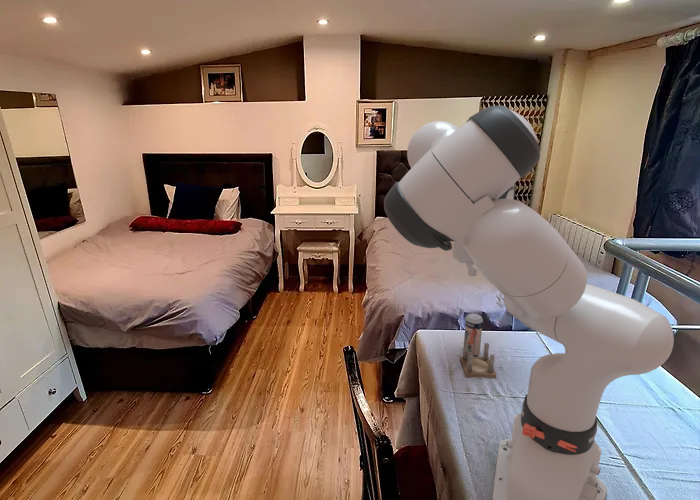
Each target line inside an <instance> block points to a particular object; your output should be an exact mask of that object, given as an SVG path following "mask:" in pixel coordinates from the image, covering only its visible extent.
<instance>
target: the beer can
mask: <svg viewBox="0 0 700 500" xmlns="http://www.w3.org/2000/svg"><path fill="white" fill-rule="evenodd" d="M483 322H484V319H483V317H482V316H481V315H480V314H479V313H476V312H475V313H474V312H472V313H468V314H467V315H466V316H465V326H464V337H463V338H464V339H463V344H464V343H468V344H469V345H468V355H469V354H472V355H473V357H477V356H478V355H480V353H481V344H482V343H481V342H482V335H483V334H482V332H483ZM462 351H464V348H463V349H462Z"/></svg>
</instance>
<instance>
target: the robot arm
mask: <svg viewBox="0 0 700 500" xmlns="http://www.w3.org/2000/svg"><path fill="white" fill-rule="evenodd" d="M406 152H407V153H406V157H407V161H408V164H409V166H410V169H409V170H408V171H407V172H406V174H405V175H404V176H403V177H402V178H401V179H400V180H399V181H395V182H394V184H393V185H392V186H391V188H390V189H389V190H388V192H387V193H386V195H385V197H384V199H383V207H384V212H385V215H386V217H387V219H388V222H389V224H390V225H391V226H392V228H393V229H394V231H395V232H396V233H397V234H398V235H399V236H401V237H402V238H403V239H405V240H406V241H408V242H409V243H410V244H412V245H414V246H417V247H421V248H426V249H436V248H437V249H442V250H443V251H445V252H448V251H451V250H452V257H453V259H454V260H455V261H457V262H459V263H461V264H462V263H464V264H465V266H466V267H467V270H468V271H467V274H468V276H469V277H475V276H477V272H478V270H479V271H480V273H481V274H482V275H483V276H484V277H485V279H486V280H487V281H488V282H489V283H491V285H492V286H493V287H495V289H496V290H498V292H500V293H501V294H502V295H503V302H504V303H503V304H504V307H505V309H506V311H507V312H508V313H510V315H512V317H514V318H515V319H517V320H518V321H519V322H521V323H522V324H523V325H524V326H526V327H527V328H529V329H531V330H534V331H535V332H537V333H538V334H541V335H543V336H545V337H548V338H550V339H551V340H553V341H554V342H557V343H559V344H561V345H563V347H564V353H563V352H559V353H556V352H555V353H549V354H545V355H543V356H540V357H539V358H538V359H537V360H535V362H534V363H533V365H532V367H531V369H530V375H529V379H528V388H527V393H526V394H525V396H524V400H523V402H522V404H521V405H522V407H521V413H518V414H516V415H514V417H513V425H512V433H511V439H501V440H500V441H499V444H498V448H497V454H496V455H497V456H496V457H497V458H496V465H495V472H494V480H493V489H492V497H491V500H606V497H607V494H608V487H607V486H606V484H605V483H604V482H603V481H602V480H601V479H600V478H598V476H599V475H600V473H601V469H602V468H601V467H600V461H601V456H602V449H601V448H600V446H599V445H598V444H597V441H595V439H596V436H597V432H598V417H597V413H598V411H599V410H598V409H599V406H600V403H601V401H602V397H603V394H604V392H605V389H607V387H608V386H609V385H610V384H611V383H613V382H614V381H615V380H617V379H619V378H622V377H625V376H634V375H637V376H639V375H643V374H647V373H650V372H652V371H655V370H656V369H658V368H659V367H661V366H662V365H663V364H665V362H666V361H667V360H668V359H669V357H670V356H671V354H672V351H673V348H674V342H675V339H674V336H675V335H674V331H673V328H672V325H671V323H670V322H669V319H668V318H667V317H666V316H665V315H664V314H661V313H660V312H658V311H657V310H655V309H653V308H651V307H649V306H647V305H645V304H643V303H642V302H640V301H638V300H636V299H634V298H632V297H629V296H625V295H623V294H619V293H617V292H613V291H611V290H608V289H604V288H603V287H598V286H595V285H592V284H590V283H587V281H588V275H587V270H586V268H585V265H584V264H583V262H582V261H581V259H580V258H579V257H578V255H577V254H576V253H575V252H574V251H573V249H572V248H571V246H570V245H569V244H568V242H567V241H566V240H565V239H564V238H563V236H562V235H561V234H560V232H558V230H557V229H556V228H555V227H554V226H553V225H552V224H551V223H550V222H549V221H548V220H546V219H545V218H544V217H543V216H542V215H541V214H540V213H538V212H537V211H536V210H534V209H533V208H532V207H530V206H529V205H527V204H525V203H523V202H522V201H519V200H517V199H515V197H516V188H515V184H516V183H517V181H519V179H520V178H521V179H524V178H525V177H526V176H527V175H528V174H530V172H531V171H532V170H533V169H534V167H535V166H536V165H537V164H538V162H539V161H540V159H541V146H540V145H539V142H538V138H537V135H536V132H535V130H534V128H533V127H532V125H531V124H530V122H529V121H528V120H527V119H526V117H524V116H523V115H521V114H519V113H518V112H516V111H514V110H512V109H509V108H508V107H507V106H505V105H490V106H488V107H485V108H484V109H481V110H480V111H478V112H475V114H473V115H472V116H470V117H469V118H468V119H467V120H466V122H465V123H463V124H461V126H458V125H456V124H453V123H451V122H448V121H445V120H435V121H431V122H428V123H426V124H423V125H422V126H421V127H419V128H418V129H417V130H416V131H415V132H414V134H413V135H412V137H411V138H410V140H409V143H408V145H407V150H406ZM452 242H453V243H452ZM474 265H475V266H476V268H477V269H478V270H477V269H476V268H475V267H473V266H474Z"/></svg>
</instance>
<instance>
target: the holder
mask: <svg viewBox="0 0 700 500" xmlns="http://www.w3.org/2000/svg"><path fill="white" fill-rule="evenodd" d="M468 345H469V344H468V343H464V342H463V349H464V351H463V350H462V351H463V352H462V356H459V362H460V364H461V367H462V371H463V375H464V377H465V378H478V379H481V378H483V379H486V378H487V379H497V377H498V376H497V373H496V371H495V367H494V366H495V360H496V359H495V358H496V356H495V354H489V349H490V343H488V342H485V343H484V346H483V347H484V348H483V356H481V357H480V356H473V355H472V354H469V355H468Z"/></svg>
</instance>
